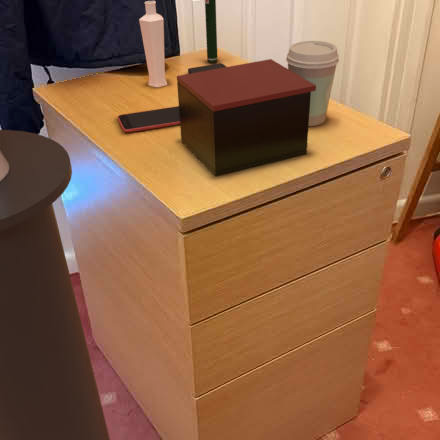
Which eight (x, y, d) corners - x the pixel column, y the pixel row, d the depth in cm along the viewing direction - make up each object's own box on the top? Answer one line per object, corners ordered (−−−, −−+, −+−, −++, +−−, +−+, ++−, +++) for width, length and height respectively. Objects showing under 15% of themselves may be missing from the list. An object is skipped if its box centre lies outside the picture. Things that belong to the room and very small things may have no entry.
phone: (221, 61, 121) (253, 84, 110) (221, 68, 122) (252, 91, 111) (186, 67, 119) (215, 91, 108) (187, 74, 120) (216, 98, 109)
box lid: (270, 63, 94) (271, 58, 93) (315, 90, 84) (316, 85, 84) (176, 81, 89) (176, 75, 88) (213, 111, 79) (213, 106, 79)
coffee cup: (335, 129, 97) (342, 55, 89) (283, 129, 97) (287, 56, 90) (330, 109, 103) (337, 39, 96) (282, 109, 104) (285, 39, 96)
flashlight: (195, 63, 125) (190, -43, 112) (210, 56, 128) (206, -47, 115) (214, 67, 123) (211, -40, 110) (228, 60, 126) (227, -45, 113)
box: (265, 122, 100) (266, 64, 94) (306, 154, 90) (311, 91, 84) (181, 141, 95) (176, 81, 89) (215, 176, 85) (213, 112, 79)
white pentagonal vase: (162, 78, 118) (155, -3, 109) (173, 84, 116) (166, 2, 106) (142, 82, 117) (133, 1, 107) (152, 89, 114) (144, 6, 104)
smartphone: (203, 118, 100) (123, 130, 97) (203, 121, 101) (124, 133, 98) (192, 103, 106) (116, 114, 102) (192, 106, 106) (116, 118, 103)
